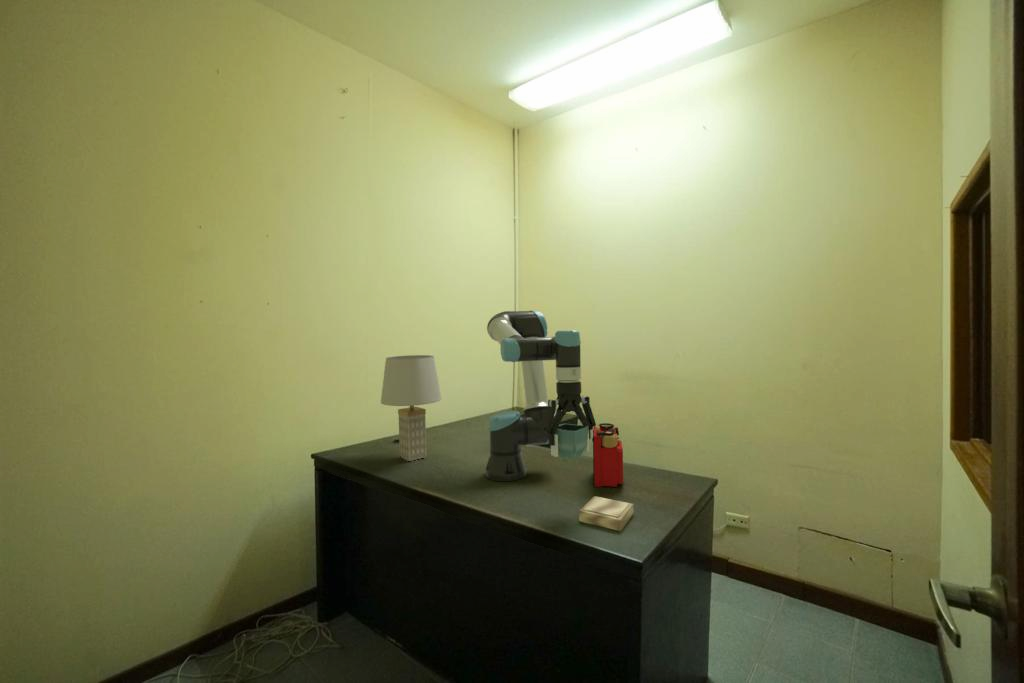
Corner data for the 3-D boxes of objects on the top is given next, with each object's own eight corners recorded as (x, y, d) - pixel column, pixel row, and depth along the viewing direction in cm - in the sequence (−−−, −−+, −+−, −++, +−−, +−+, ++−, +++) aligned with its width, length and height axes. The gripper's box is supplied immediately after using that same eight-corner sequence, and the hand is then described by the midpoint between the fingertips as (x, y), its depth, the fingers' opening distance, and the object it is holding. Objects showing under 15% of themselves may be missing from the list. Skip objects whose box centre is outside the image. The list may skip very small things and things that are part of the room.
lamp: (372, 458, 185) (369, 357, 183) (423, 446, 202) (420, 354, 200) (400, 472, 166) (397, 360, 165) (454, 457, 183) (451, 356, 182)
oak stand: (579, 521, 122) (579, 509, 122) (594, 505, 132) (594, 495, 132) (620, 531, 116) (620, 519, 115) (633, 514, 126) (633, 502, 126)
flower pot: (564, 451, 137) (564, 423, 137) (590, 455, 132) (589, 425, 132) (550, 457, 130) (549, 428, 130) (576, 462, 125) (575, 431, 124)
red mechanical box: (623, 488, 145) (622, 430, 144) (592, 487, 147) (592, 429, 146) (621, 473, 160) (620, 420, 160) (593, 471, 162) (592, 419, 162)
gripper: (542, 384, 122) (544, 462, 122) (606, 379, 133) (608, 450, 133) (529, 382, 128) (531, 456, 129) (591, 377, 139) (593, 445, 139)
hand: (570, 453), depth 131 cm, fingers closed on flower pot, 11 cm apart
